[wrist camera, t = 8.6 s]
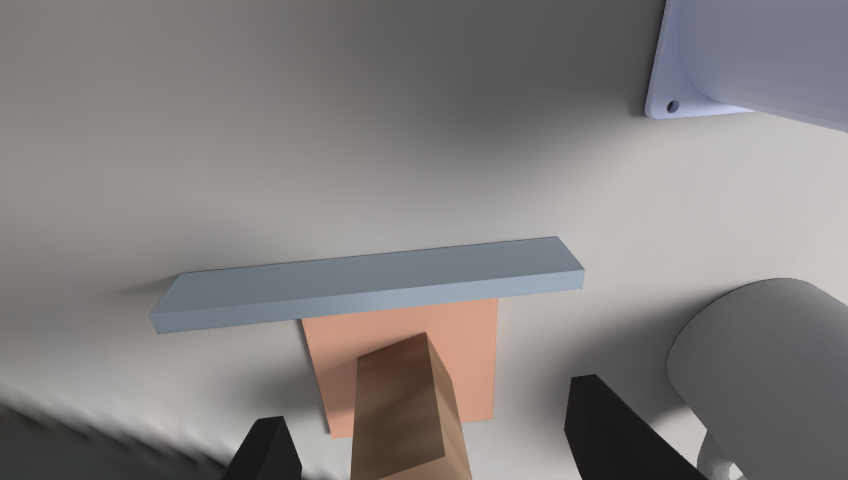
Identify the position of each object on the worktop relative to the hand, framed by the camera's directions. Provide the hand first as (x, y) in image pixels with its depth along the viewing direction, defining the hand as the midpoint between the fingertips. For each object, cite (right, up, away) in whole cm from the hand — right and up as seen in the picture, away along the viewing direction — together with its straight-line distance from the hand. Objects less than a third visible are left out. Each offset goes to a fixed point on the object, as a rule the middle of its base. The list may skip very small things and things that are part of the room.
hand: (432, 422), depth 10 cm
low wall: (-3, +3, +9) cm, 10 cm away
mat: (-1, -3, +13) cm, 13 cm away
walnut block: (-1, -3, +12) cm, 13 cm away
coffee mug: (+19, -3, +16) cm, 25 cm away
